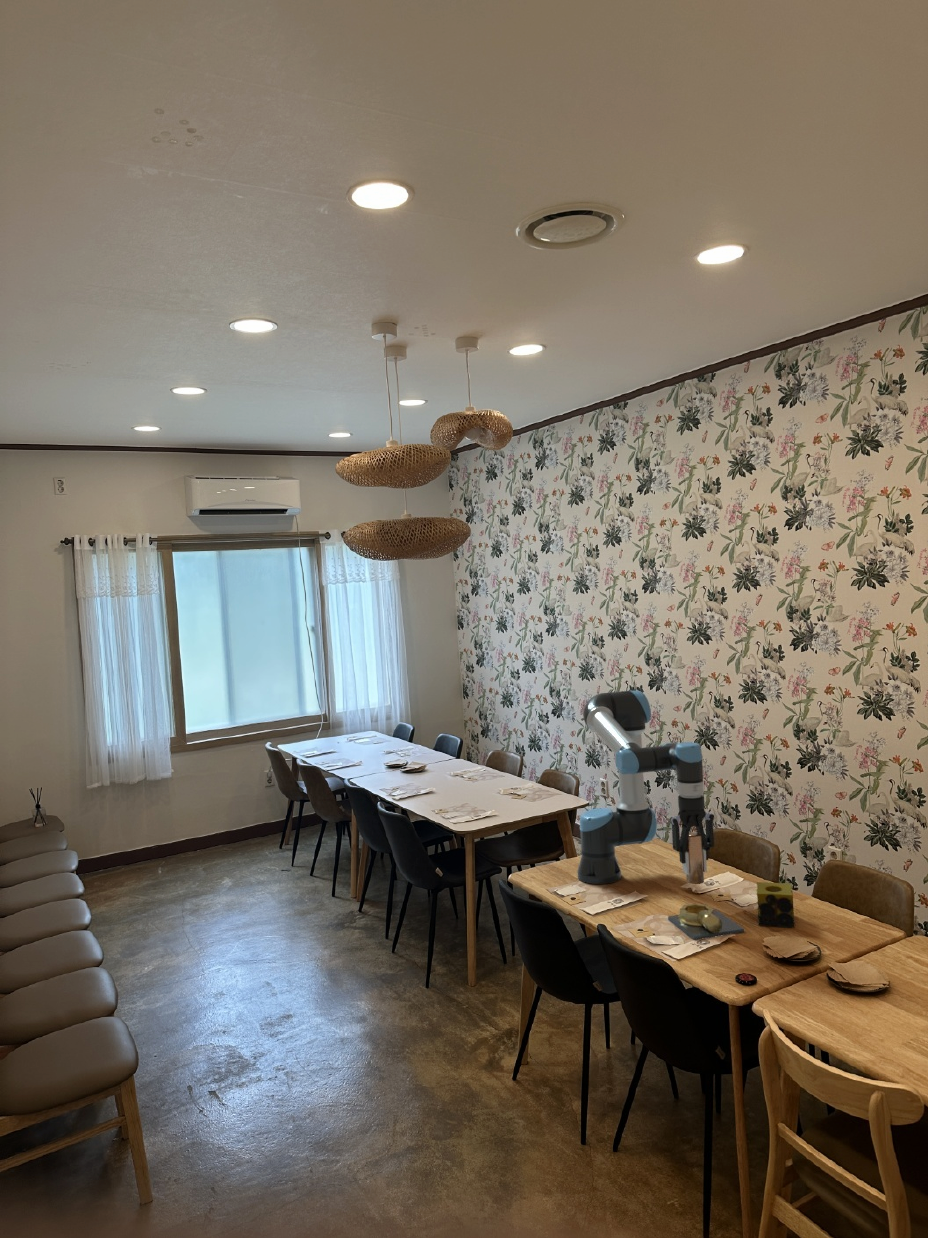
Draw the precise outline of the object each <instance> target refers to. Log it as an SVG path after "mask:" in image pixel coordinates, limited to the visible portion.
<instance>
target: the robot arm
mask: <svg viewBox="0 0 928 1238" xmlns="http://www.w3.org/2000/svg"><path fill="white" fill-rule="evenodd" d="M650 705H651V704H650V702H649V700H648V698H647V696H646V695H645V693H644V692H642V691H641V690H622V691H621V690H620V691H614V692H613V691H612V692H601V693H598V694H595V695H594V696H592V697H591V698H590V699H589V700H588V701H586V704H585V706H584V708H583V711H582V712H583V713H582V716H583V721H584V723H585V725H586V726H587V728H588V729H589V730H590V731H591V732H594V733H596V734H597V735H598V736H599V737H600V738H601V739H602V740H603V743H604V744H606V746H607V747H608V748H609V749H610V750H611V751H612V753H613V754H614V755H615V757H614V762H615V767H616V769H617V771H618V784H619V786H618V787H619V802H618V803H616V805H615V807H616V808H615V809H616V811H613V810H612V809H610V808H609V807H608V808H607V807H602V808H601V807H599V808H592V809H588V810H586V811H585V812H583V813H582V814H581V815H580V819H579V830H580V831H579V833H580V846H581V847H580V850H581V857H580V860H579V865H578V868H577V879H578V880H579V881H581V882H583V883H585V882H586V883H587V884H591V885H607V884H613V883H615V882H619V880H621V878H622V871H621V867H620V865H619V862H618V859H617V856H616V849H615V847H620V846H621V847H622V846H630V845H637V844H638V845H641V844H644V843H649V842H652V841H653V840H654V838H655V836H656V833H657V827H658V824H657V823H658V821H657V818H656V813H655V811H654V810H653V809H652V808H651V807H650V804H649V803H648V802H647V801H646V800H645V799H646V798H645V797H646V796H645V781H644V780H645V778H644V777H645V775H644V774H645V773H651V772H652V773H653V772H663V771H676V781H677V783H676V784H677V794H678V796H677V800H678V801H677V803H678V813H677V815H676V816H674V817H673V816H671V817H669V821H670V824H671V836H672V837H671V838H672V839H671V840H672V849H673V850H674V851H675V852H678V853H679V854H678V855H679V862H680V863H681V864H682V873H683V874H685V875H689V855H688V853H687V852H686V848H687V842H688V837H689V833H690V831H691V830H692V828H695V831H696V833H698V834H700V835H702V851H703V871H704V874H705V873H708V865H707V861H709V860H710V859H709V858H710V856H709V851H710V850H711V848H713V847H715V835H714V820H715V814H713V813H710V812H706V810H705V806H706V805H705V797H704V793H705V792H704V791H705V790H704V789H705V788H704V775H703V774H704V772H703V771H704V770H703V769H704V768H703V757H704V756H703V754H702V753H703V752H702V746H701V744H699V743H698V742H692V741H689V742H688V741H687V742H686V741H685V742H684V741H683V742H679V743H674V742H665V743H662V744H661V745H657V746H647V747H643V742H642V741H643V740H642V739H643V738H642V733H644V731H646V724H648V723H650V721H651V718H652V709H651V706H650ZM680 821H681V822H680ZM703 821H705V823H704V824H705V831H704V824H703ZM680 823H681V832H680Z"/></svg>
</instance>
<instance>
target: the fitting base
mask: <svg viewBox="0 0 928 1238" xmlns="http://www.w3.org/2000/svg"><path fill="white" fill-rule="evenodd" d="M667 920H668V921H669V922H670V923H672V924H673V925H674V926H675V927H677V928H678V929H679V930H680V931H681V932H683V933H684V934H686V935H687V936H688V937H689V938H690V939H692V940H693V941H697V940H698V941H699V940H703V939H702V938H704V939H711V938H715V936H717V937H721V935H723V936H728V935H734V934H740V933H745V928H744V927H742V926H741V925H739V924H738V923H737V922H735V921H733V920H732V919H731V918H729V917H728V916H726V915H725V914H723V913H722V912H721V911H719V910H718V909H716V908H715V909H713V908H712V907H711V906H709V904H701V903H696V902H695V903H688V904H683V905H682V906H681V908H680V909H679V914H677V915H669V916H667Z"/></svg>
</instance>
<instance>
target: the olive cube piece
mask: <svg viewBox="0 0 928 1238" xmlns="http://www.w3.org/2000/svg"><path fill="white" fill-rule="evenodd" d="M756 886H757V887H756V897H757V899H756V900H757V902H756V904H757V919H758V926H760V927H772V928H786V929H794V928H795V913H794V896H793V889H792V887H793V886H792V883H789V882H787V883H785V882H783V883H782V882H765V881H764V882H762V881H759V882H758V881H757V882H756Z"/></svg>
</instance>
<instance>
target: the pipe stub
mask: <svg viewBox="0 0 928 1238" xmlns="http://www.w3.org/2000/svg"><path fill="white" fill-rule="evenodd" d="M686 852H687V853H688V855H689V875H686V874H685V875H686V883H688V884H690V885H691V884H692V885H702V884H703V883H705V875H704V874H705V873H704V871H703V851H702V835H700V834H698V833H697V832H689V837H688V842H687V848H686Z"/></svg>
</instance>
